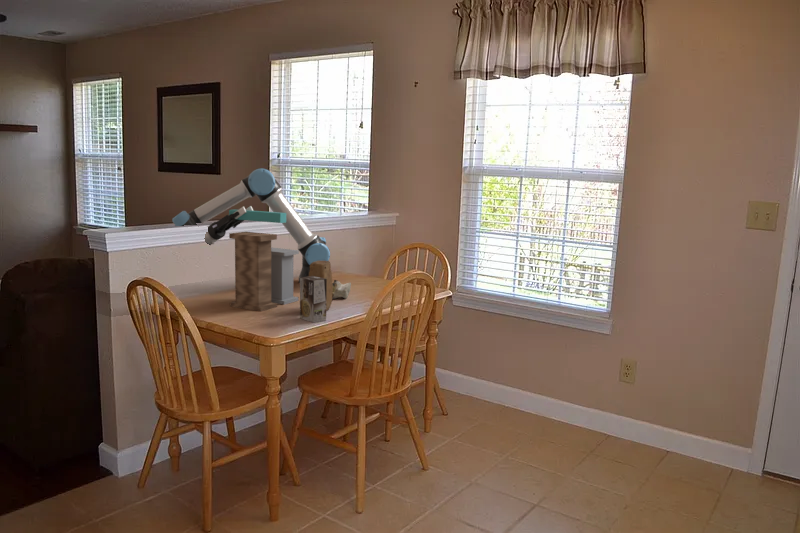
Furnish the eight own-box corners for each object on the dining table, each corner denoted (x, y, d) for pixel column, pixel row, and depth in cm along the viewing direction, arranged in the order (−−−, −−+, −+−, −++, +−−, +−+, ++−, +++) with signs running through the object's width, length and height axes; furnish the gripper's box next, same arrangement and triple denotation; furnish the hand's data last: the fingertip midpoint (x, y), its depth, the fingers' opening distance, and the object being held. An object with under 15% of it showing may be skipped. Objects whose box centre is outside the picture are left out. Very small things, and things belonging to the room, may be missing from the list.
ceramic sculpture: (352, 280, 270) (317, 283, 268) (353, 300, 272) (318, 302, 269) (349, 277, 281) (316, 279, 278) (350, 295, 282) (317, 297, 279)
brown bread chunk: (323, 313, 247) (323, 263, 244) (306, 311, 249) (306, 262, 246) (334, 307, 257) (335, 260, 254) (318, 305, 259) (318, 258, 256)
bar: (229, 218, 271) (229, 209, 270) (235, 218, 274) (235, 209, 274) (280, 223, 258) (280, 213, 257) (286, 222, 262) (286, 213, 261)
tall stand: (230, 306, 253) (229, 233, 249) (246, 302, 262) (245, 231, 258) (261, 311, 246) (260, 236, 242) (276, 306, 255) (276, 234, 251)
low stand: (254, 300, 267) (254, 249, 263) (269, 296, 275) (269, 247, 272) (284, 304, 260) (284, 252, 256) (298, 300, 268) (298, 250, 265)
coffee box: (327, 320, 235) (327, 278, 233) (313, 322, 231) (313, 280, 228) (312, 315, 242) (313, 275, 239) (299, 318, 237) (299, 276, 235)
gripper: (230, 238, 286) (264, 215, 275) (203, 241, 271) (238, 217, 260) (224, 224, 286) (258, 200, 275) (196, 226, 271) (231, 202, 260)
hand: (248, 209), depth 268 cm, fingers closed on bar, 4 cm apart
